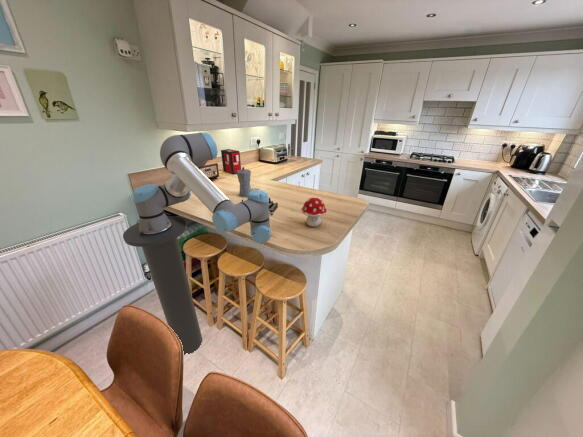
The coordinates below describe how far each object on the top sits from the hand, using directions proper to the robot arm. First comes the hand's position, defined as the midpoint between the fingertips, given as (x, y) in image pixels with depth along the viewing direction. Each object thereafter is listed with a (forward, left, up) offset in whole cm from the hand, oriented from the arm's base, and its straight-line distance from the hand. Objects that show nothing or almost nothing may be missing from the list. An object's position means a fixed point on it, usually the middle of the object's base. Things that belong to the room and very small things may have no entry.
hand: (256, 200), depth 119 cm
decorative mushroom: (+18, -24, -14) cm, 33 cm away
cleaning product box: (+63, +96, -14) cm, 116 cm away
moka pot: (+28, +40, -14) cm, 51 cm away
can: (+6, +7, -13) cm, 16 cm away
